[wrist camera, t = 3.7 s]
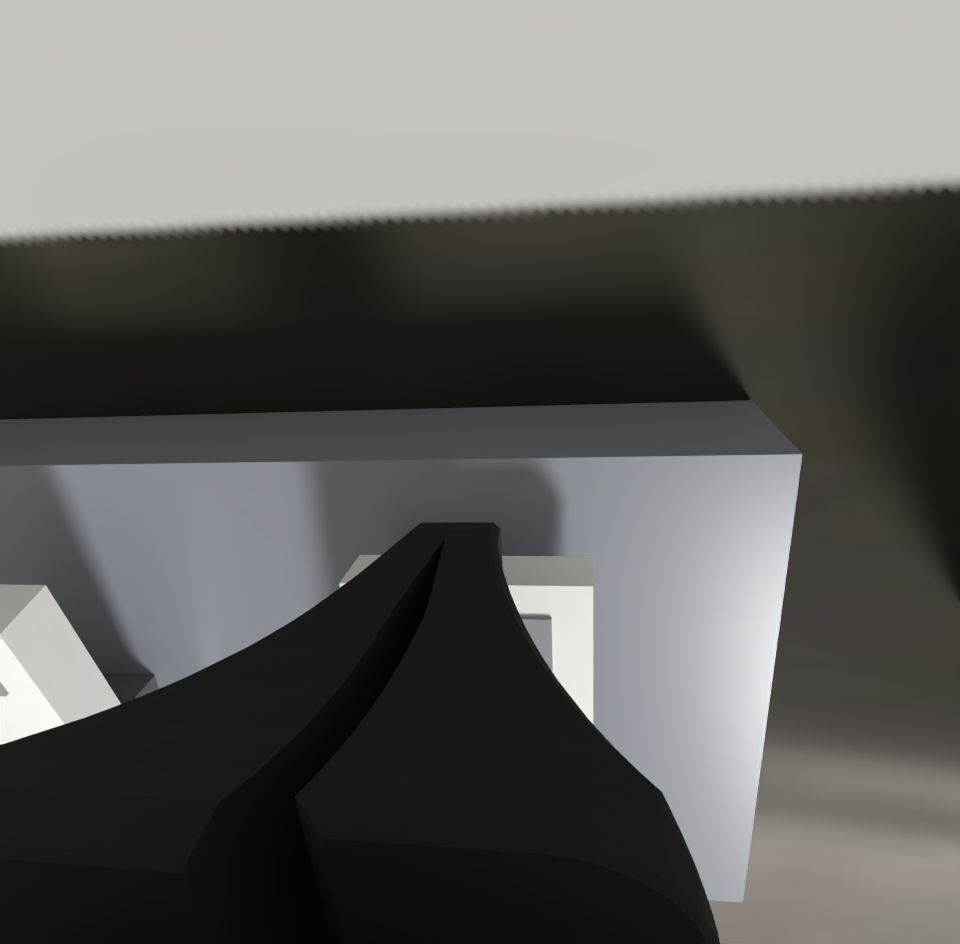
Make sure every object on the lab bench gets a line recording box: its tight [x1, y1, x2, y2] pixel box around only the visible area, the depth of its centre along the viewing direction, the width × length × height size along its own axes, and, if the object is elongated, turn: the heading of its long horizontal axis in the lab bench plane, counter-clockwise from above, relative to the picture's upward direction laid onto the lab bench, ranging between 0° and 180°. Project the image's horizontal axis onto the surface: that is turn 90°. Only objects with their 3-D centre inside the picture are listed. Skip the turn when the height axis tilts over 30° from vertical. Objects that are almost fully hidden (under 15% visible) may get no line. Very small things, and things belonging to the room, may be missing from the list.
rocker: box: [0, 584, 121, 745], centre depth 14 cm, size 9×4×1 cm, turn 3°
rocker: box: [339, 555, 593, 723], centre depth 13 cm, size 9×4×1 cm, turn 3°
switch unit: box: [0, 400, 802, 902], centre depth 17 cm, size 12×22×4 cm, turn 93°
